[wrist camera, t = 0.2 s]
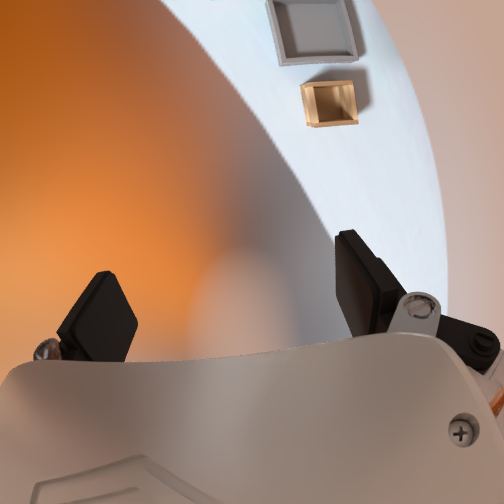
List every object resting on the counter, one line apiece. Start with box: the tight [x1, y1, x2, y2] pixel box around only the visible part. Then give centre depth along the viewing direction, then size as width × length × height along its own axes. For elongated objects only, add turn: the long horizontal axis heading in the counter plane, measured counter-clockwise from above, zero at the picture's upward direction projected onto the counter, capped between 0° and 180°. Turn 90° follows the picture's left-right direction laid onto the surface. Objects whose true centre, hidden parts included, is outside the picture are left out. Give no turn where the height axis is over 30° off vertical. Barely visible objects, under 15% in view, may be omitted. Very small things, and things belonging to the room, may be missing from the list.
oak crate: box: [300, 80, 359, 128], centre depth 32 cm, size 6×6×5 cm
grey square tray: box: [265, 0, 359, 67], centre depth 27 cm, size 11×11×3 cm
